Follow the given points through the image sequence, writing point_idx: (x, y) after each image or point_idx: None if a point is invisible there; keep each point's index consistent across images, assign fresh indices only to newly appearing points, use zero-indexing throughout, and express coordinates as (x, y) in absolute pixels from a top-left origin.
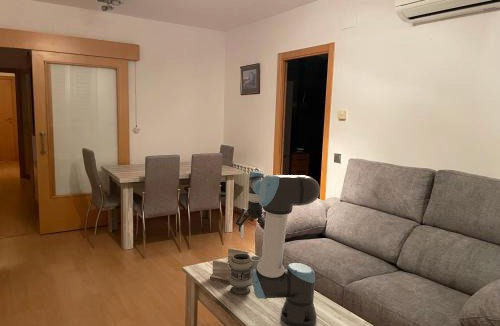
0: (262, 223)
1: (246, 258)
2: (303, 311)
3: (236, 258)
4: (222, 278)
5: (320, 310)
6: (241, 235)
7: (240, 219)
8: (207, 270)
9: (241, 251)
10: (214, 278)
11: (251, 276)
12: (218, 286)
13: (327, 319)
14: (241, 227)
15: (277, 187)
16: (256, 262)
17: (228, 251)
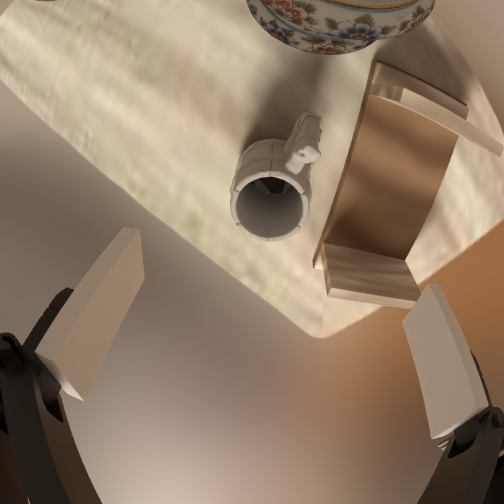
0: (60, 502)
1: (316, 14)
2: None
3: (406, 23)
4: (420, 81)
5: (24, 29)
6: (441, 310)
7: (495, 492)
8: (471, 184)
9: (363, 290)
10: (449, 94)
11: (257, 2)
12: (417, 41)
13: (15, 4)
14: (478, 398)
15: None
16: (257, 167)
17: (418, 291)
